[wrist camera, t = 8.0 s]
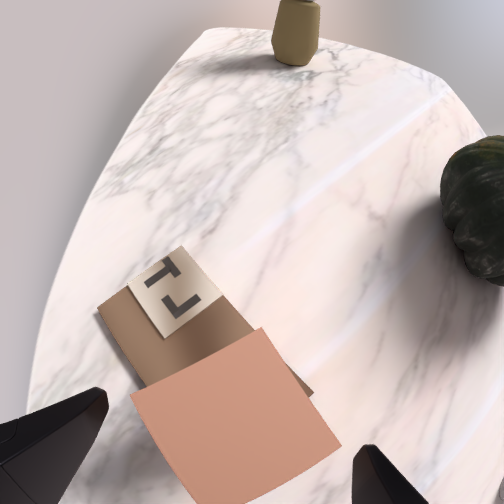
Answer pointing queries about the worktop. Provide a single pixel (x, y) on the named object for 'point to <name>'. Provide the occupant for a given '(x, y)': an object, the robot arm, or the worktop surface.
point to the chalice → (502, 490)
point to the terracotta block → (235, 423)
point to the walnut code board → (173, 319)
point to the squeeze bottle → (296, 31)
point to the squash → (477, 205)
